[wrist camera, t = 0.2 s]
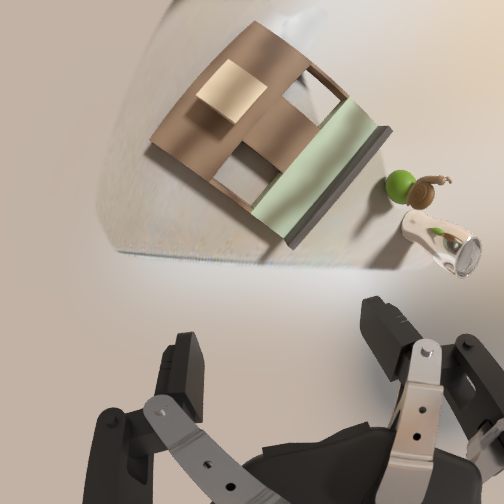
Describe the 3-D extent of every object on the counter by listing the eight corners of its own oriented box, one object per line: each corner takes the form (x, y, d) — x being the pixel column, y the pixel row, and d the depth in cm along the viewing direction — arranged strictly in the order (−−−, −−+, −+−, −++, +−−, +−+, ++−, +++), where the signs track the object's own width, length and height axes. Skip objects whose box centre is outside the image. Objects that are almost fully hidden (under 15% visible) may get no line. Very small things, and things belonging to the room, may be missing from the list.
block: (198, 99, 30) (195, 95, 27) (227, 65, 28) (228, 59, 26) (234, 125, 32) (235, 123, 29) (264, 91, 30) (267, 87, 28)
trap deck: (153, 140, 34) (142, 139, 29) (252, 27, 28) (257, 11, 23) (285, 236, 41) (293, 250, 36) (373, 130, 36) (393, 131, 31)
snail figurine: (412, 175, 39) (460, 190, 28) (394, 205, 41) (440, 228, 30) (392, 156, 37) (441, 166, 26) (373, 188, 39) (419, 207, 28)
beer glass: (393, 220, 42) (450, 254, 28) (420, 198, 41) (480, 225, 27) (405, 249, 44) (457, 289, 30) (430, 229, 43) (484, 261, 29)
